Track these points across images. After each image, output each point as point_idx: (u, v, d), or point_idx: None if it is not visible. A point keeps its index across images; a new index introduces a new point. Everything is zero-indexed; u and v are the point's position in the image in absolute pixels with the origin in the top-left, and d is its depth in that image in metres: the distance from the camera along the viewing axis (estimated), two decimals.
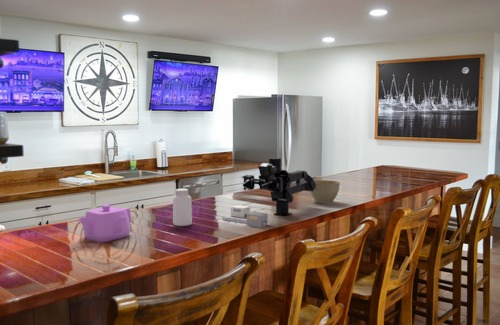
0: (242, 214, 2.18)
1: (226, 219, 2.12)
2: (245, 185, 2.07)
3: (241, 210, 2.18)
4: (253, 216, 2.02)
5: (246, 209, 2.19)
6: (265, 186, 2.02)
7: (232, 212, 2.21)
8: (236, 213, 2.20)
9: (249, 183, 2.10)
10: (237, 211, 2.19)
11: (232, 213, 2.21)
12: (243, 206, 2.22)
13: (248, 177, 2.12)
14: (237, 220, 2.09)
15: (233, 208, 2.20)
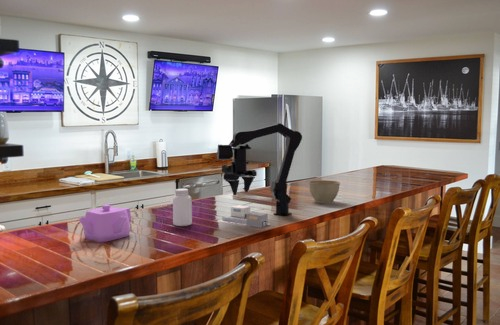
0: (242, 214, 2.18)
1: (226, 219, 2.12)
2: (246, 189, 2.24)
3: (241, 210, 2.18)
4: (253, 216, 2.02)
5: (246, 209, 2.19)
6: (233, 191, 2.16)
7: (232, 212, 2.21)
8: (236, 213, 2.20)
9: (246, 180, 2.25)
10: (237, 211, 2.19)
11: (232, 213, 2.21)
12: (243, 206, 2.22)
13: None
14: (237, 220, 2.09)
15: (233, 208, 2.20)
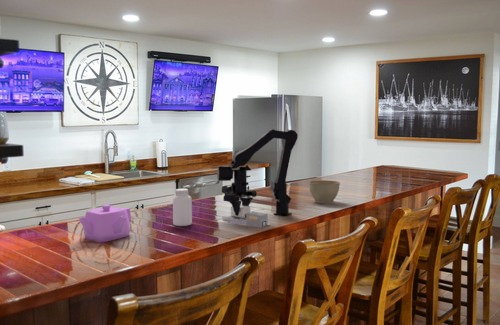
0: (242, 214, 2.18)
1: (226, 219, 2.12)
2: None
3: (241, 210, 2.18)
4: (253, 216, 2.02)
5: (246, 209, 2.19)
6: (235, 211, 2.19)
7: (232, 212, 2.21)
8: None
9: (244, 201, 2.24)
10: None
11: (232, 213, 2.21)
12: (243, 206, 2.22)
13: None
14: (237, 220, 2.09)
15: None
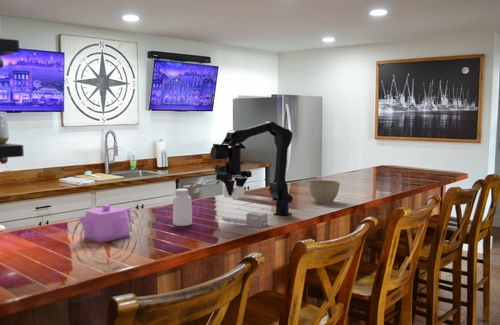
0: (235, 194, 2.08)
1: (226, 219, 2.12)
2: None
3: (234, 190, 2.08)
4: (253, 216, 2.02)
5: (240, 189, 2.10)
6: (229, 191, 2.09)
7: (225, 192, 2.11)
8: None
9: (238, 182, 2.15)
10: None
11: (225, 193, 2.12)
12: (237, 186, 2.13)
13: None
14: (237, 220, 2.09)
15: (226, 188, 2.11)
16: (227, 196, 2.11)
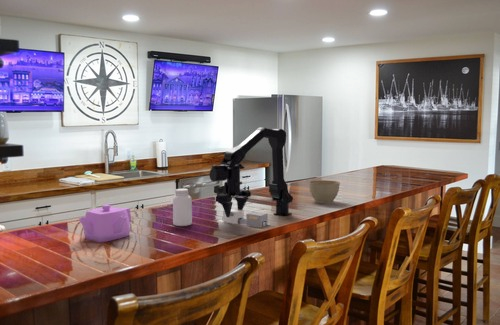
0: (235, 218, 2.07)
1: None
2: None
3: (234, 214, 2.07)
4: (253, 216, 2.02)
5: (239, 213, 2.08)
6: (226, 213, 2.06)
7: (225, 216, 2.10)
8: (229, 218, 2.08)
9: (239, 201, 2.14)
10: (230, 215, 2.08)
11: (225, 217, 2.10)
12: (236, 210, 2.11)
13: None
14: None
15: None
16: (227, 220, 2.09)
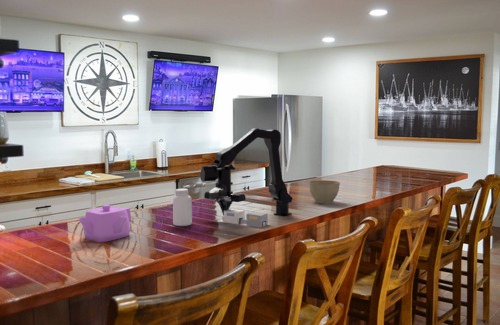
0: (236, 218, 2.06)
1: None
2: None
3: (235, 214, 2.06)
4: (253, 216, 2.02)
5: (240, 213, 2.08)
6: None
7: (225, 216, 2.09)
8: (230, 218, 2.08)
9: None
10: (231, 215, 2.08)
11: (225, 217, 2.09)
12: (237, 210, 2.11)
13: (218, 202, 2.11)
14: None
15: (226, 212, 2.09)
16: (227, 220, 2.09)
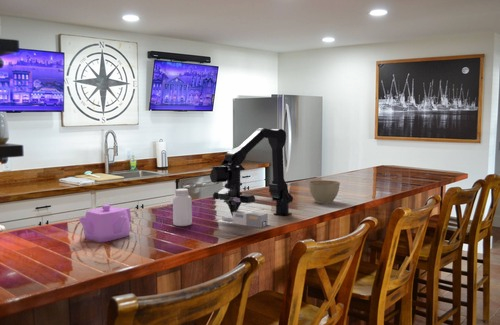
0: (245, 220, 2.04)
1: (226, 219, 2.12)
2: None
3: (244, 216, 2.04)
4: (253, 216, 2.02)
5: None
6: None
7: (234, 218, 2.07)
8: (238, 219, 2.06)
9: None
10: (240, 217, 2.05)
11: (234, 219, 2.07)
12: (246, 211, 2.08)
13: (227, 202, 2.09)
14: None
15: (235, 213, 2.06)
16: (236, 222, 2.06)
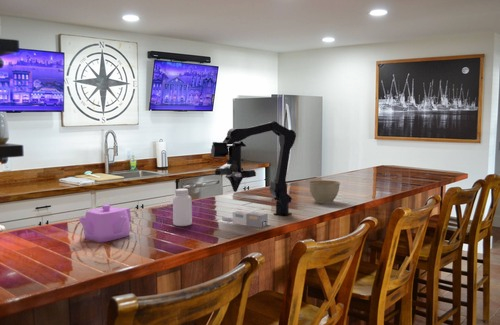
0: (245, 220, 2.04)
1: (226, 219, 2.12)
2: None
3: (244, 216, 2.04)
4: (253, 216, 2.02)
5: None
6: (236, 187, 2.17)
7: (234, 218, 2.07)
8: (238, 219, 2.06)
9: None
10: (240, 217, 2.05)
11: (234, 219, 2.07)
12: (246, 211, 2.08)
13: (228, 178, 2.16)
14: None
15: (235, 213, 2.06)
16: (236, 222, 2.06)
